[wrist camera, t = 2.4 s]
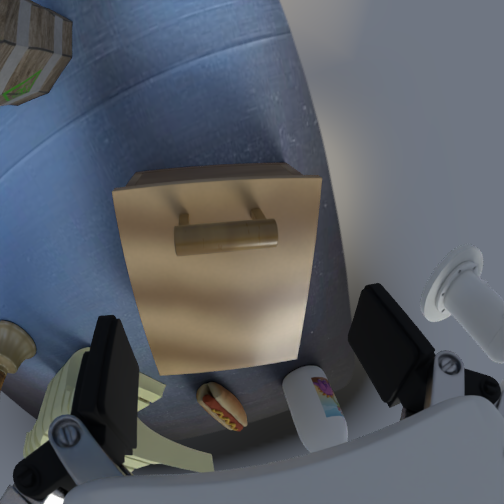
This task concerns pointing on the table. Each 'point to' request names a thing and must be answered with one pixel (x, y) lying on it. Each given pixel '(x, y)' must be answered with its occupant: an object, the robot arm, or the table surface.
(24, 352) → the hand bell
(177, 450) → the slatted curved stool
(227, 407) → the food
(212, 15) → the table surface
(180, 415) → the table surface
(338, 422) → the milk bottle
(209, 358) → the lid
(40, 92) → the mug
